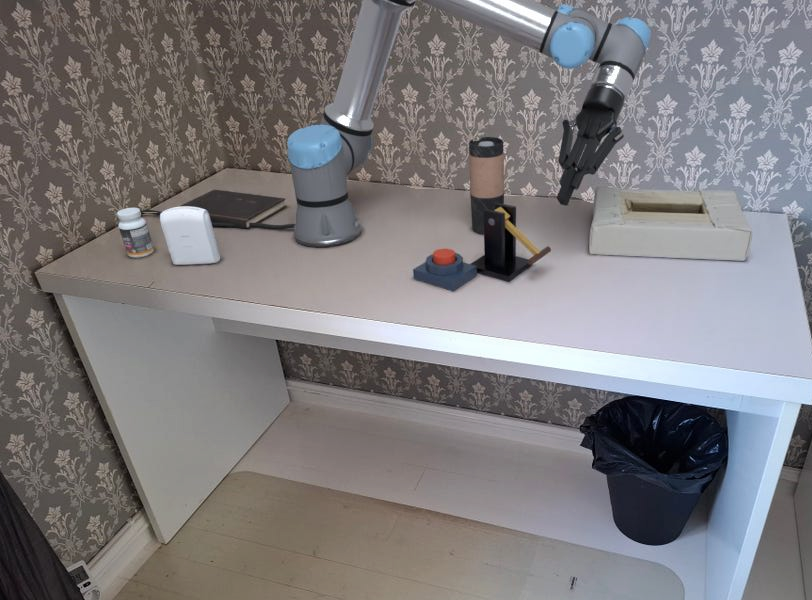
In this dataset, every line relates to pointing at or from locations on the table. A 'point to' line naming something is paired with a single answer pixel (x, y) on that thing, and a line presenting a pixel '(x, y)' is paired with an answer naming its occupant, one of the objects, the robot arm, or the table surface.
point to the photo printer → (189, 235)
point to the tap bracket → (500, 246)
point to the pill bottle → (134, 233)
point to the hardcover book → (237, 207)
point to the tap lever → (524, 239)
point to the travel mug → (485, 178)
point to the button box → (445, 273)
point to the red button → (444, 256)
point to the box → (669, 224)
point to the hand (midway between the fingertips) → (561, 201)
